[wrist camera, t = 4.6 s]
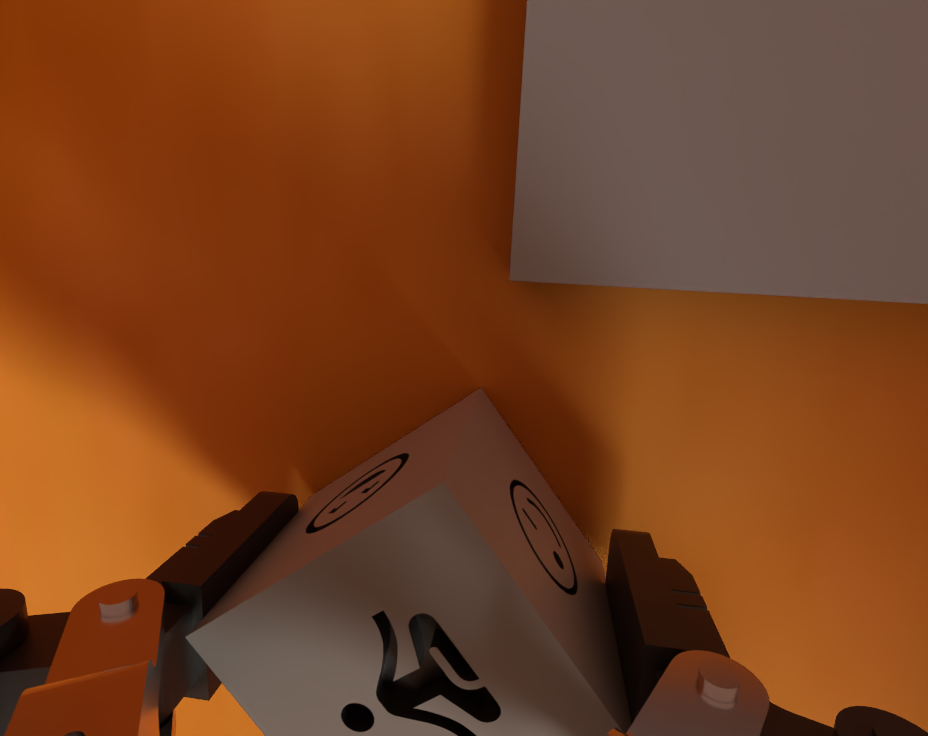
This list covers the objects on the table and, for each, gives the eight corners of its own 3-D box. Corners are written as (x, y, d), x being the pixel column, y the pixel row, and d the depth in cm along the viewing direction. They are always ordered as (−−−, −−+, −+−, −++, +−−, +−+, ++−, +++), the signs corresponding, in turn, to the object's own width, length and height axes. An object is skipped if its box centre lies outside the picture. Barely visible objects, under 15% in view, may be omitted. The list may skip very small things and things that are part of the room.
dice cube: (602, 562, 13) (640, 756, 8) (429, 651, 14) (372, 867, 9) (481, 387, 12) (443, 481, 7) (312, 494, 13) (185, 637, 9)
